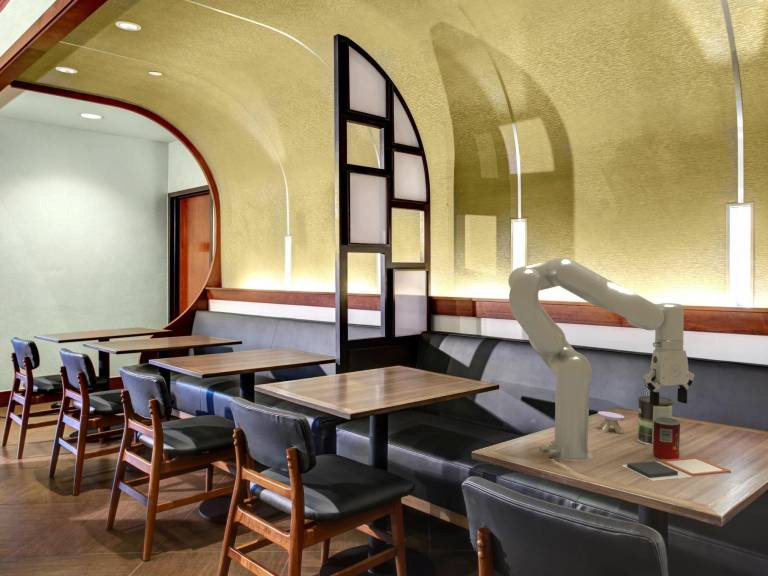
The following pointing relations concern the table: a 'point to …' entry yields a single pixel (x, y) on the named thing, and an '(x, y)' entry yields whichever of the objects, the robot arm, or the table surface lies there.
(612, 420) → the toy table
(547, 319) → the robot arm
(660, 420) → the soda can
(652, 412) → the coffee can
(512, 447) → the table surface
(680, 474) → the board
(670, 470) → the ink pad
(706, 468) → the red bordered square panel
